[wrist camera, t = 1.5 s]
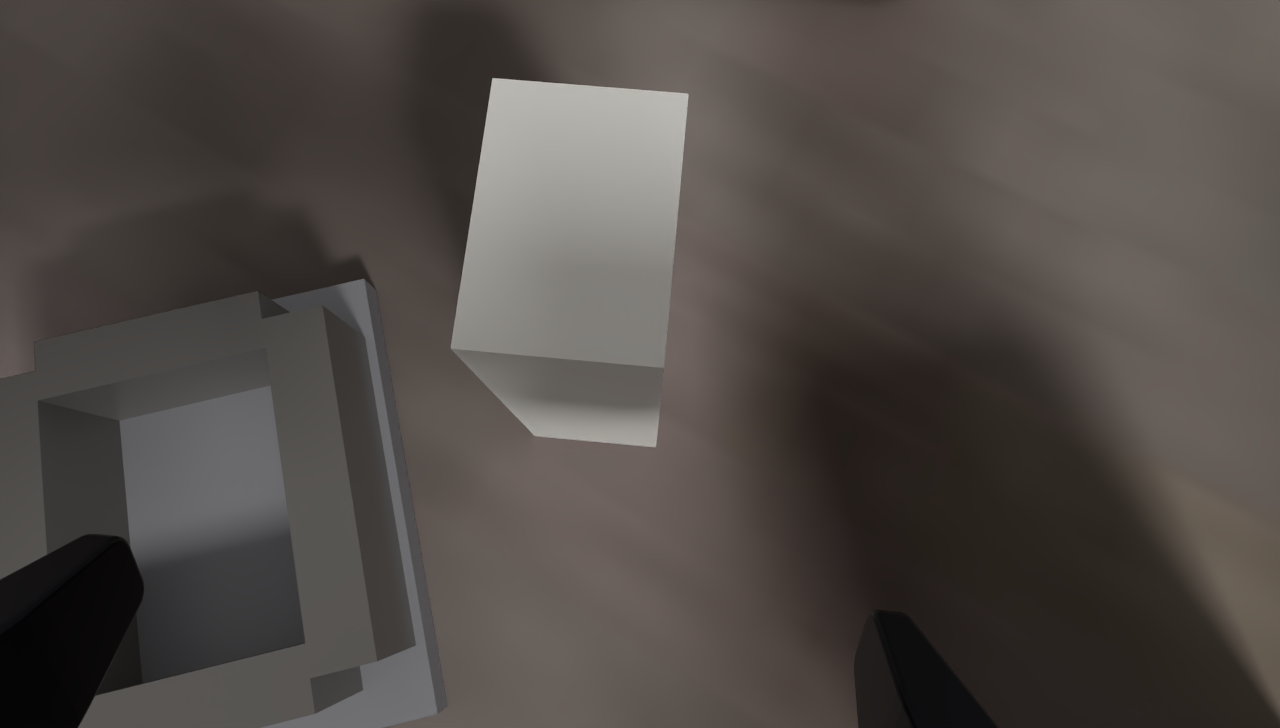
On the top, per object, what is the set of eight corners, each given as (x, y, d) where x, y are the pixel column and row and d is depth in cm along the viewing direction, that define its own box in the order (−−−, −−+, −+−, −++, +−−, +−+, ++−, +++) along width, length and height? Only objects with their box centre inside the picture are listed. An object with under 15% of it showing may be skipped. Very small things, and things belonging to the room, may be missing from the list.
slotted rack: (447, 706, 21) (401, 742, 17) (108, 792, 20) (-20, 849, 17) (376, 289, 24) (322, 238, 20) (75, 358, 23) (-41, 320, 19)
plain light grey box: (656, 447, 22) (664, 367, 13) (534, 435, 23) (450, 348, 13) (670, 282, 24) (688, 93, 14) (555, 272, 24) (492, 78, 14)
